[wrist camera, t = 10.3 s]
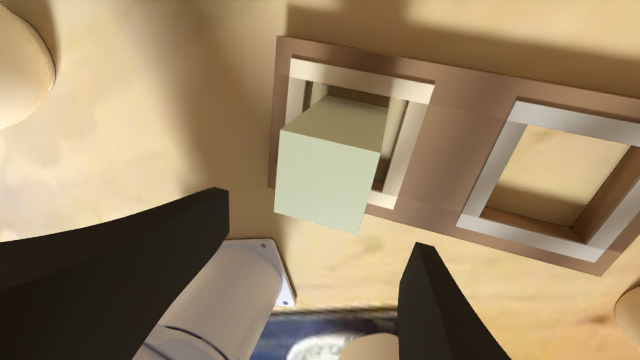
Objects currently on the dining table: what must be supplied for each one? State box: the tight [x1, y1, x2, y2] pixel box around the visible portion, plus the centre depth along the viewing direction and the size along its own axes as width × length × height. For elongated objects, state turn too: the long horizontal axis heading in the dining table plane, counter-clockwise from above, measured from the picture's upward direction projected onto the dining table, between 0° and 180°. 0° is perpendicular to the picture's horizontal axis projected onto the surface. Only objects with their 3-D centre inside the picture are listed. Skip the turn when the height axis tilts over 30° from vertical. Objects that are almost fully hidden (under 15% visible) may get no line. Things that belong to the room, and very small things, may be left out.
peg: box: [274, 95, 388, 236], centre depth 15 cm, size 4×4×8 cm
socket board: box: [268, 36, 640, 277], centre depth 17 cm, size 22×10×2 cm, turn 82°
